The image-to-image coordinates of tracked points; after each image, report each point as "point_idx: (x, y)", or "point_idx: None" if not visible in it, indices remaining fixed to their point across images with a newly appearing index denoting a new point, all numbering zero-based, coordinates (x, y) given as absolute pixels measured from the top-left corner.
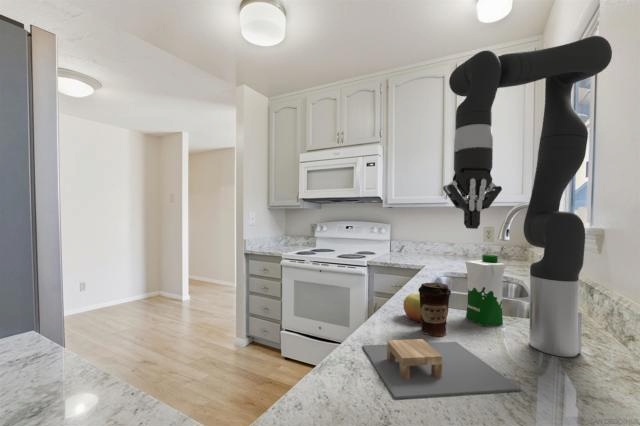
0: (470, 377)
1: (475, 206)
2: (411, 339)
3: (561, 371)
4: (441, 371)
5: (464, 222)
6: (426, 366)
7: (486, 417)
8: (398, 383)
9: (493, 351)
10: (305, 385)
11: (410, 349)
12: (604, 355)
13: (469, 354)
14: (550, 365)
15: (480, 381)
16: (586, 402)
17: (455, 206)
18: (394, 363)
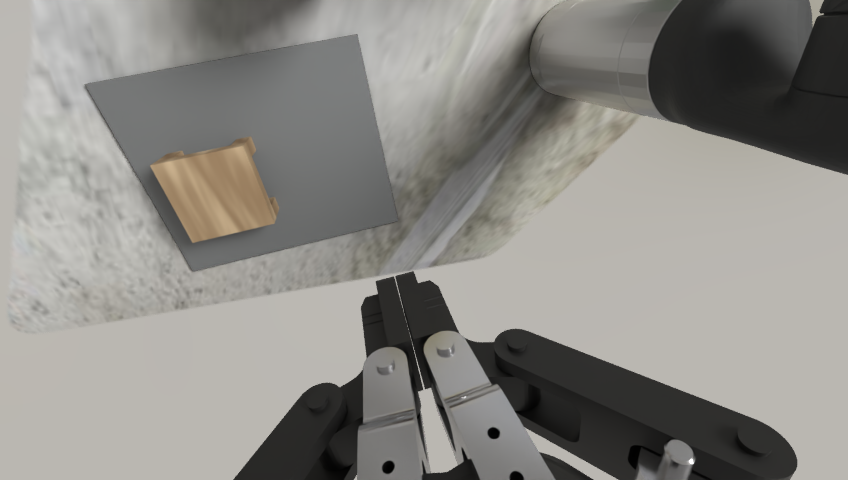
0: (330, 202)
1: (438, 411)
2: (214, 152)
3: (504, 151)
4: (277, 212)
5: (363, 313)
6: None
7: (319, 281)
8: None
9: (429, 76)
10: (18, 261)
11: (210, 205)
12: None
13: (364, 109)
14: (502, 131)
15: (343, 211)
16: (468, 232)
17: (297, 402)
18: None
